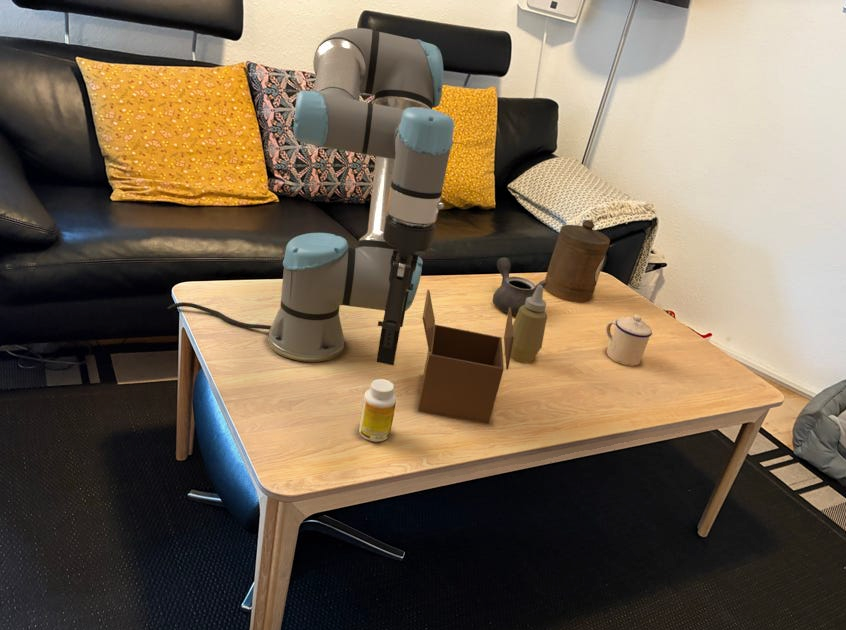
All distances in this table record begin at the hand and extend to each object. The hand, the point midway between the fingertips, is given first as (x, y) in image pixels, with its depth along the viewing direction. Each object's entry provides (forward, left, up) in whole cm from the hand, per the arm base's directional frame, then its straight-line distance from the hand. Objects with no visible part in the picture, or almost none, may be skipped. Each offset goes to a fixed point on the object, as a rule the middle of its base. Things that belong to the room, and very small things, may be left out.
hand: (390, 343), depth 110 cm
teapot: (+28, +70, -19) cm, 78 cm away
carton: (+14, +16, -19) cm, 28 cm away
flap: (+6, +16, -2) cm, 17 cm away
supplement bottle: (0, 0, -19) cm, 19 cm away
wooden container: (+46, +87, -19) cm, 100 cm away
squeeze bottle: (+29, +40, -19) cm, 53 cm away
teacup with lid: (+55, +51, -19) cm, 77 cm away
